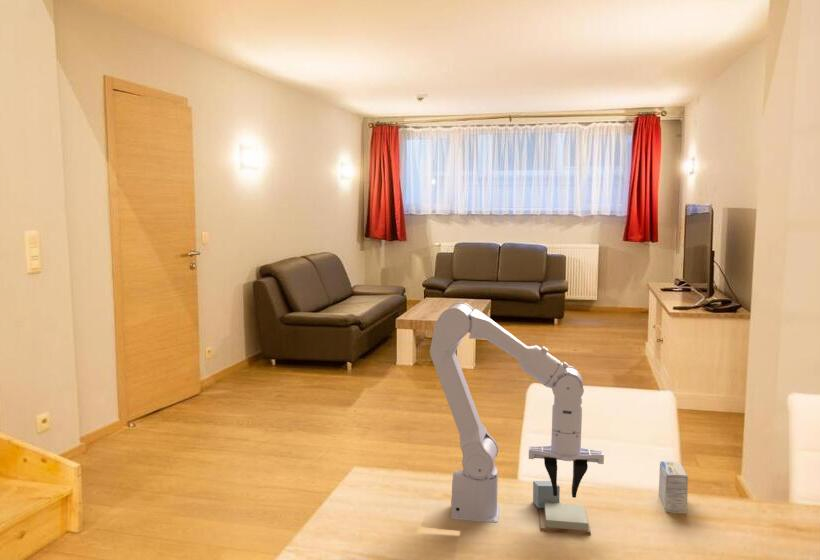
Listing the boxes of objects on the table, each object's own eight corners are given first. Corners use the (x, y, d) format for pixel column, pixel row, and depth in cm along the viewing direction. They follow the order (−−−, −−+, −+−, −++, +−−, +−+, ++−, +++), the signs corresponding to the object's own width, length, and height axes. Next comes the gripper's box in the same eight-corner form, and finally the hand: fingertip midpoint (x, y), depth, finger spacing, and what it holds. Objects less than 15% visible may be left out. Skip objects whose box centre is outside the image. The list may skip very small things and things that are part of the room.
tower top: (546, 527, 130) (546, 520, 130) (544, 509, 138) (544, 502, 138) (588, 530, 129) (588, 523, 129) (583, 512, 137) (584, 505, 136)
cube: (537, 507, 138) (538, 485, 138) (532, 502, 142) (533, 480, 143) (559, 508, 138) (559, 486, 138) (553, 502, 143) (553, 481, 143)
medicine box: (687, 516, 136) (689, 476, 135) (664, 514, 137) (666, 474, 136) (679, 500, 144) (681, 461, 143) (657, 498, 145) (659, 460, 144)
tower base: (540, 535, 130) (540, 527, 130) (539, 513, 139) (539, 506, 139) (590, 539, 128) (590, 531, 128) (585, 516, 138) (585, 509, 138)
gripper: (529, 433, 129) (527, 500, 131) (606, 438, 127) (604, 506, 128) (529, 422, 136) (527, 485, 137) (602, 426, 133) (600, 491, 135)
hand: (564, 494), depth 133 cm, fingers open, 3 cm apart
